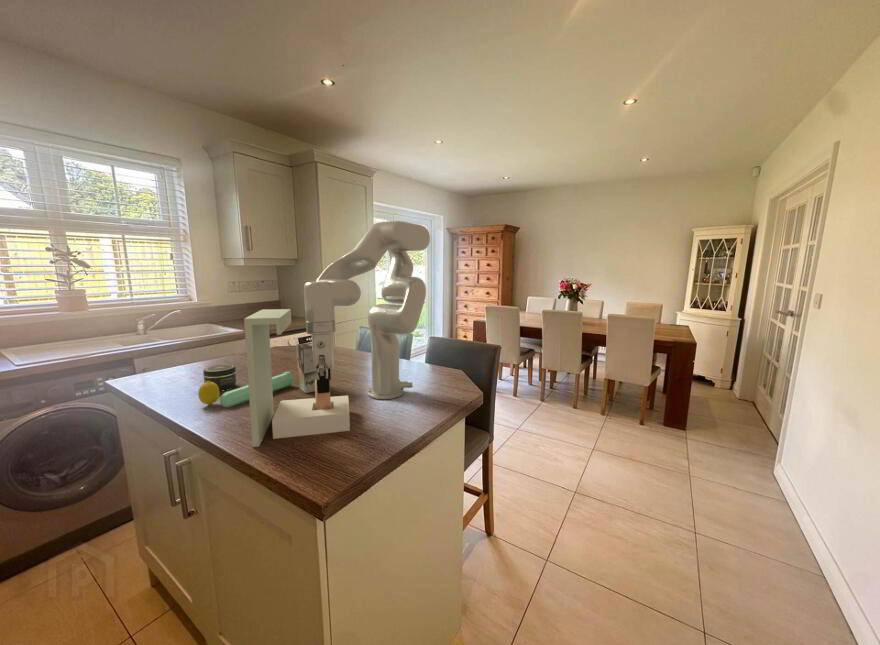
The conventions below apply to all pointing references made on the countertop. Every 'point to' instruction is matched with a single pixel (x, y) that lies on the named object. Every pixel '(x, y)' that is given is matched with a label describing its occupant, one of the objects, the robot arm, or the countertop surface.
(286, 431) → the socket block
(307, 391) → the coffee box
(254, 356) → the grey hook bracket
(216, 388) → the lemon
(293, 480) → the countertop surface
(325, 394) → the peg
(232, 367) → the jar
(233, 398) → the container
